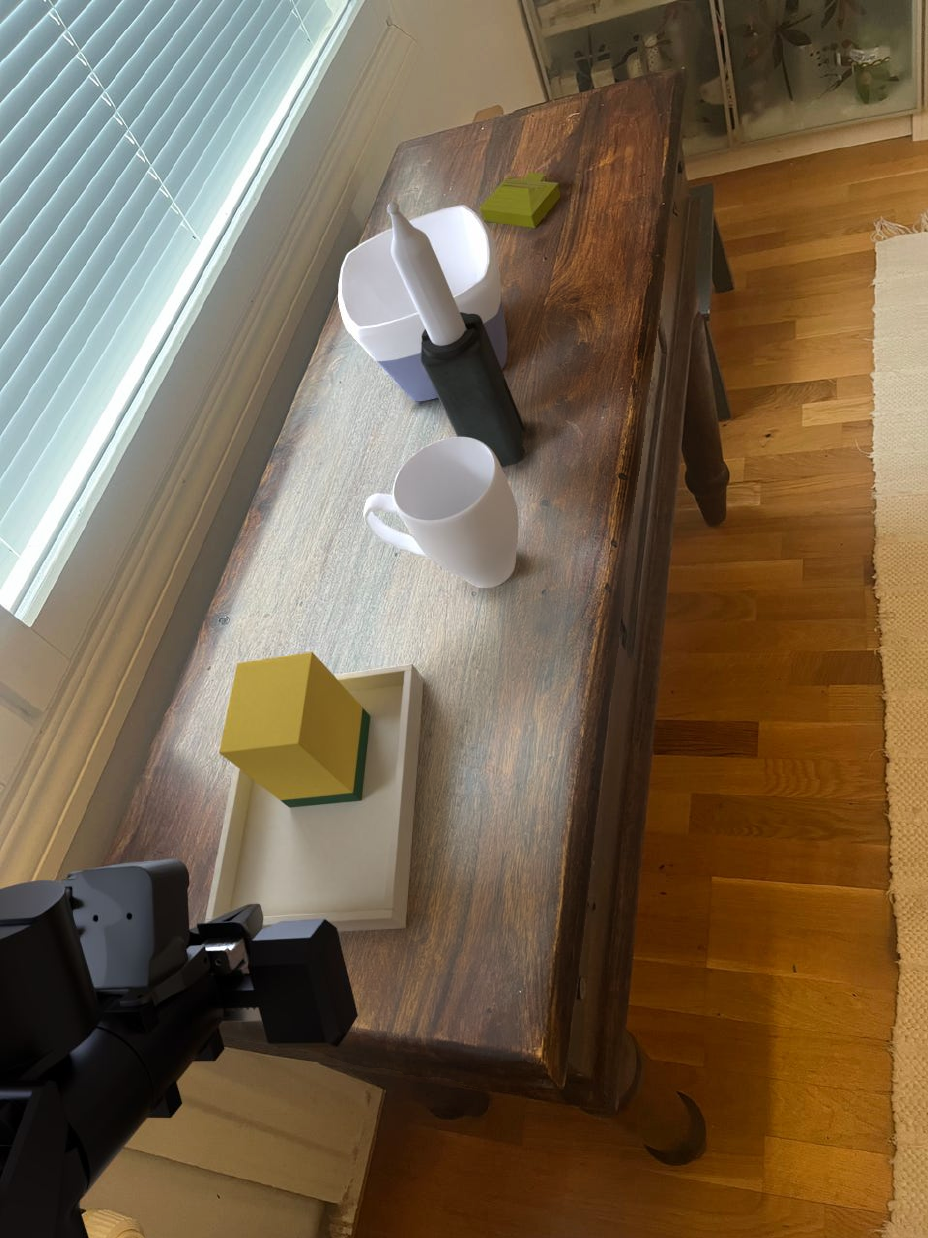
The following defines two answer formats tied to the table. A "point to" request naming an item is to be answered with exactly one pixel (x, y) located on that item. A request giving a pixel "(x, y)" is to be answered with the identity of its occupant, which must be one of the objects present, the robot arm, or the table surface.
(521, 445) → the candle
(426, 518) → the mug
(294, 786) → the block
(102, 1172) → the robot arm
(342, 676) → the tray
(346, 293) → the bowl
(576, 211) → the table surface
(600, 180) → the table surface
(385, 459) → the table surface
